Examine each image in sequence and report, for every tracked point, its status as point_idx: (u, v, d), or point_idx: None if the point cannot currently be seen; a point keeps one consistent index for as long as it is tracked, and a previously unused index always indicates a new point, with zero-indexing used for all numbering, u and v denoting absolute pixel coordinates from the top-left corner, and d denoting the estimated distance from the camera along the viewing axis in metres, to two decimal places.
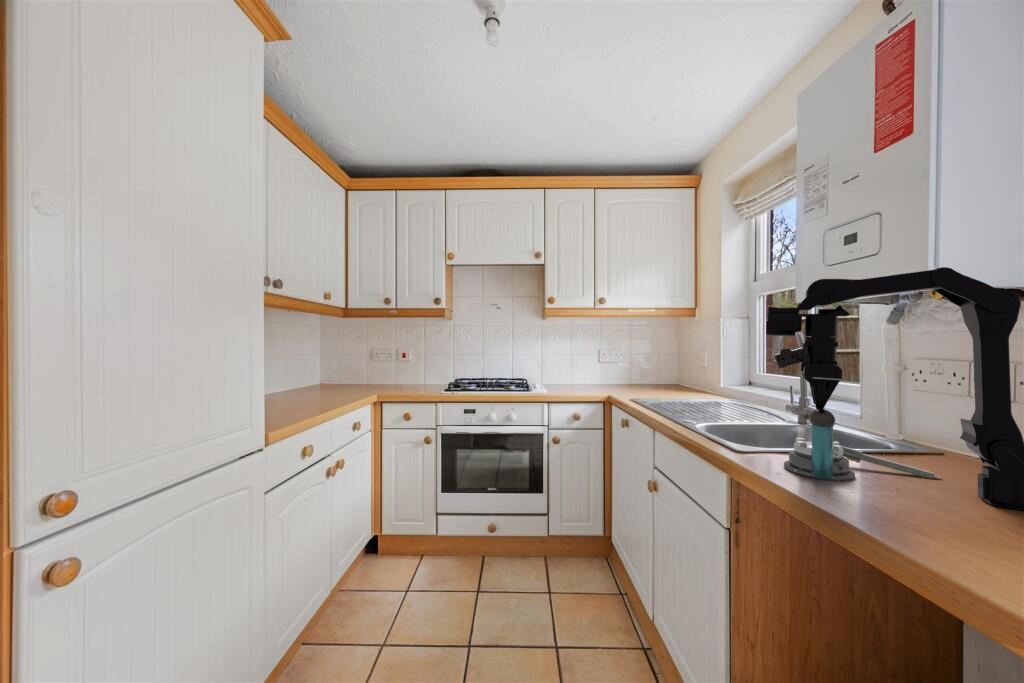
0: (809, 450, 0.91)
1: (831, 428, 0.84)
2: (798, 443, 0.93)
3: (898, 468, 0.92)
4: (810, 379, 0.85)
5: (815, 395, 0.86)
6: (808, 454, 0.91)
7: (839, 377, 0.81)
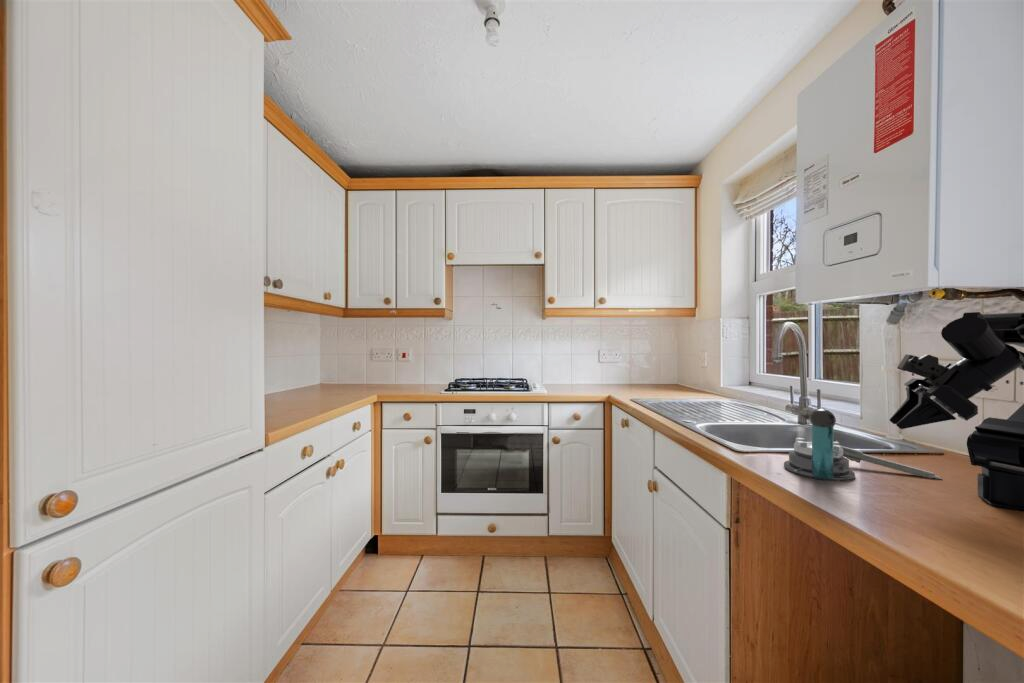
0: (809, 450, 0.90)
1: (832, 428, 0.84)
2: (798, 443, 0.93)
3: (898, 468, 0.92)
4: (928, 399, 0.73)
5: (911, 414, 0.76)
6: (808, 454, 0.91)
7: (966, 418, 0.68)
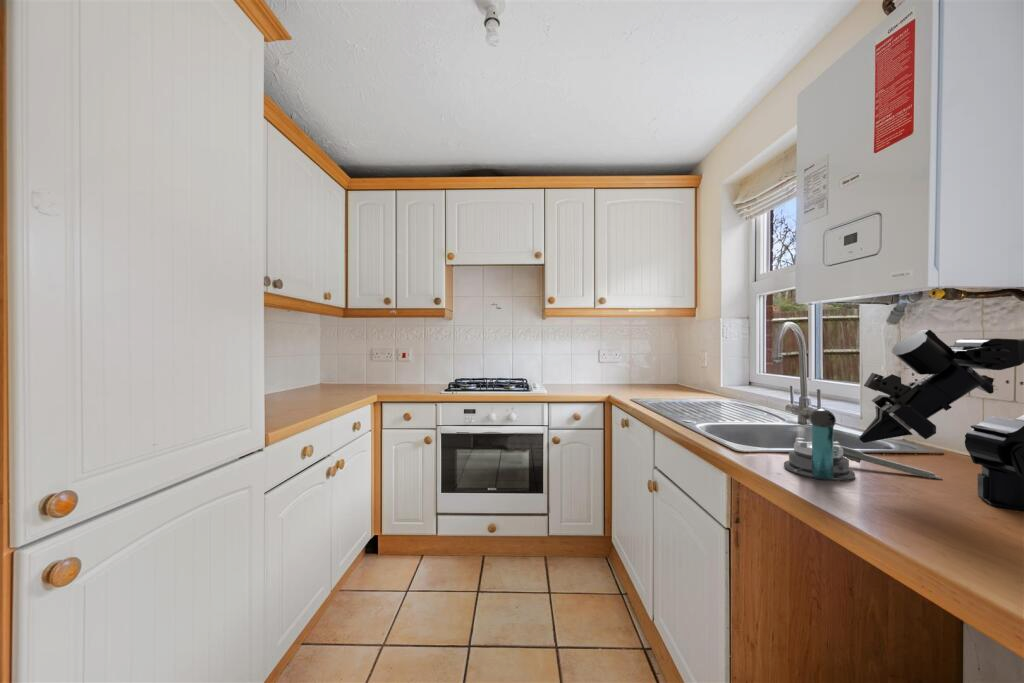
0: (809, 450, 0.90)
1: (832, 428, 0.84)
2: (798, 443, 0.93)
3: (898, 468, 0.92)
4: (887, 415, 0.78)
5: (873, 429, 0.81)
6: (808, 454, 0.91)
7: (925, 437, 0.71)
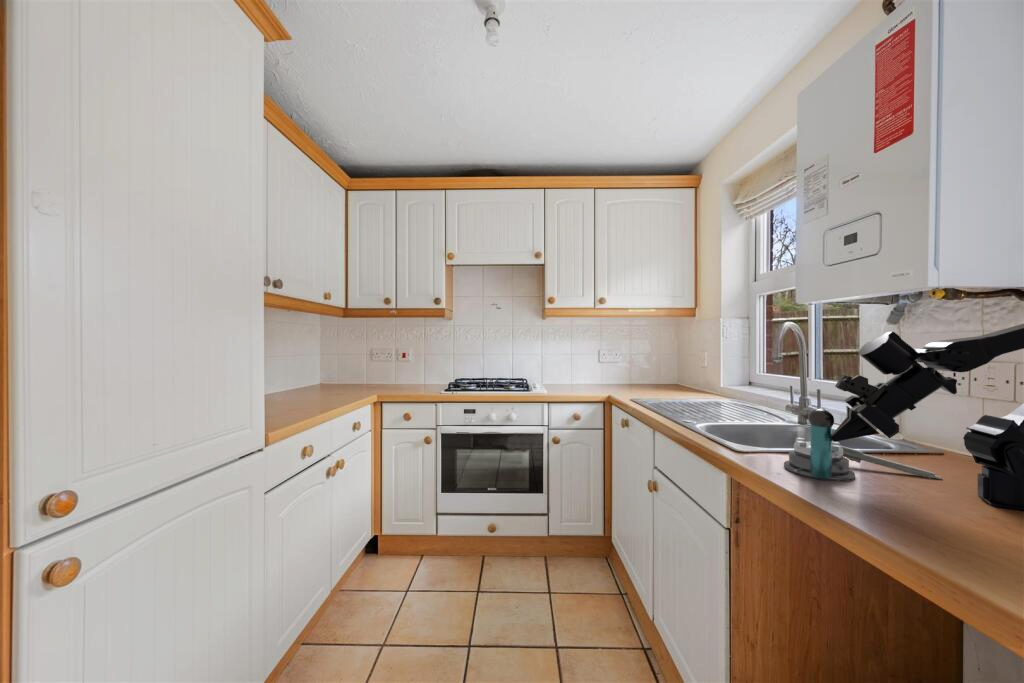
0: (809, 450, 0.91)
1: (830, 428, 0.84)
2: (798, 443, 0.93)
3: (898, 468, 0.92)
4: (856, 415, 0.80)
5: (843, 428, 0.83)
6: (808, 454, 0.91)
7: (889, 436, 0.73)
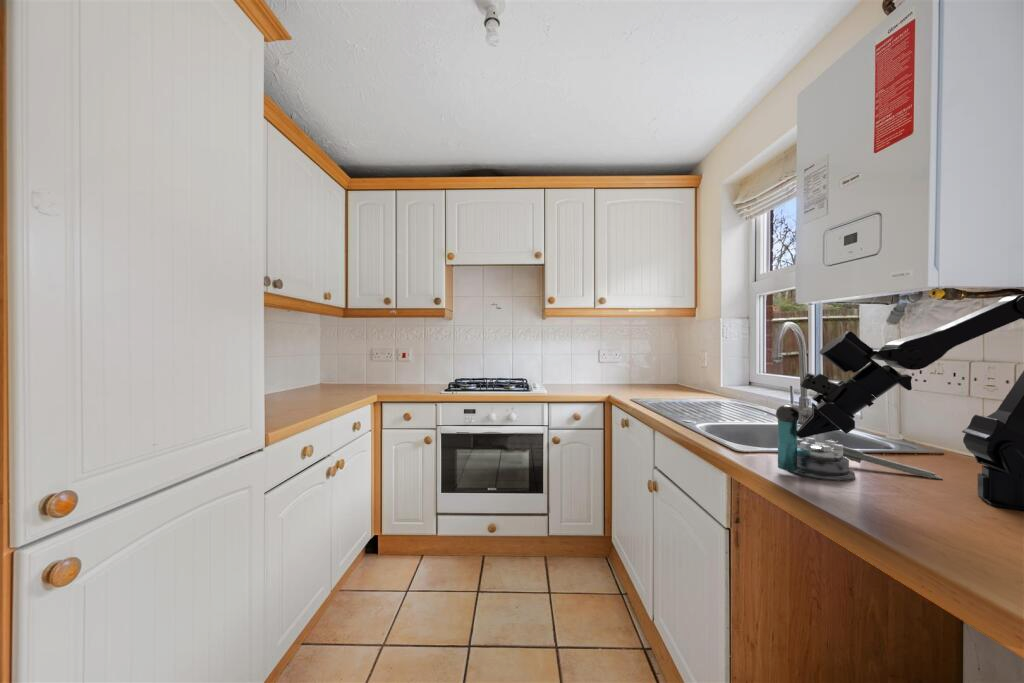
0: (796, 446, 0.94)
1: (790, 423, 0.89)
2: None
3: (899, 468, 0.92)
4: (818, 412, 0.84)
5: (807, 425, 0.86)
6: None
7: (845, 431, 0.77)
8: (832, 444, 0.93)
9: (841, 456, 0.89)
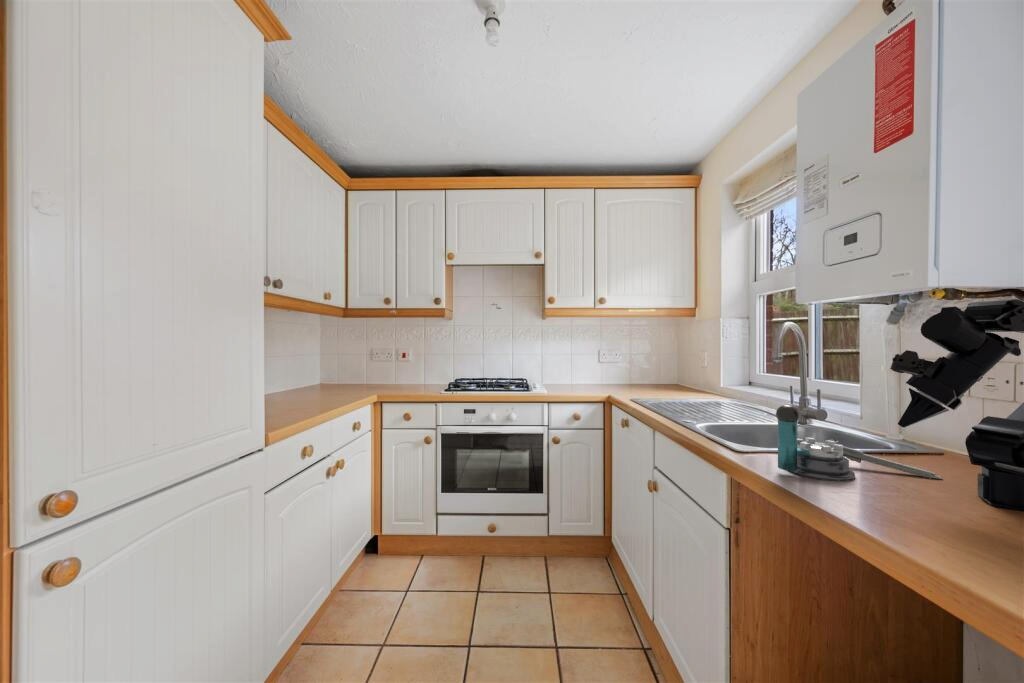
0: (796, 446, 0.94)
1: (790, 423, 0.89)
2: None
3: (899, 468, 0.92)
4: (914, 391, 0.76)
5: (907, 410, 0.78)
6: None
7: (944, 401, 0.69)
8: (832, 444, 0.93)
9: (841, 456, 0.89)
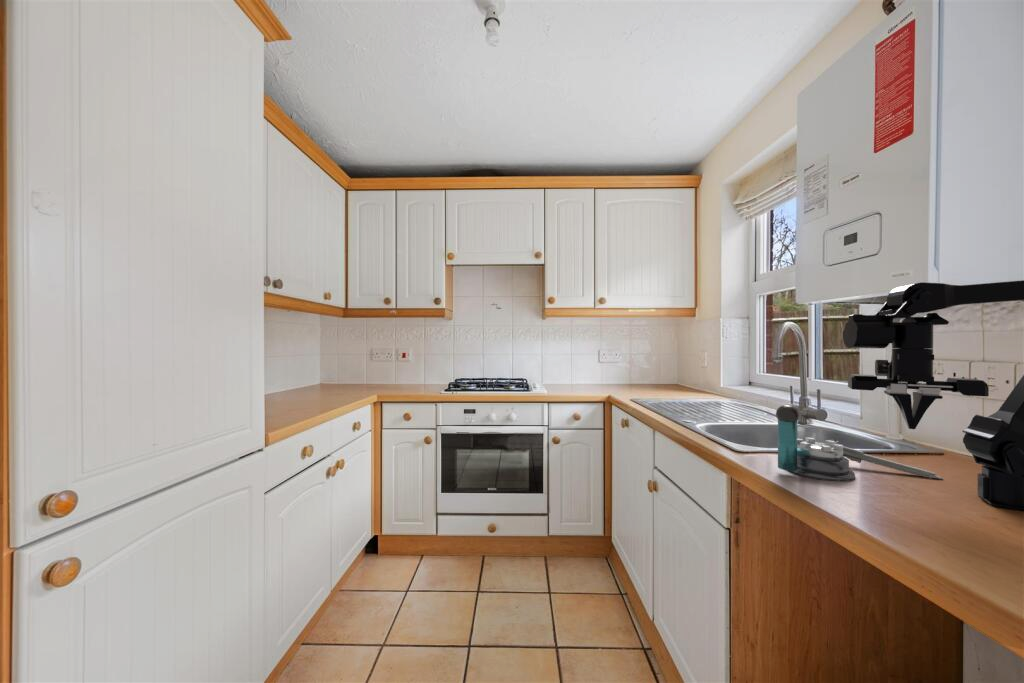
0: (796, 446, 0.94)
1: (790, 423, 0.89)
2: None
3: (899, 468, 0.92)
4: (884, 392, 0.82)
5: (901, 411, 0.80)
6: None
7: (852, 387, 0.81)
8: (832, 444, 0.93)
9: (841, 456, 0.89)
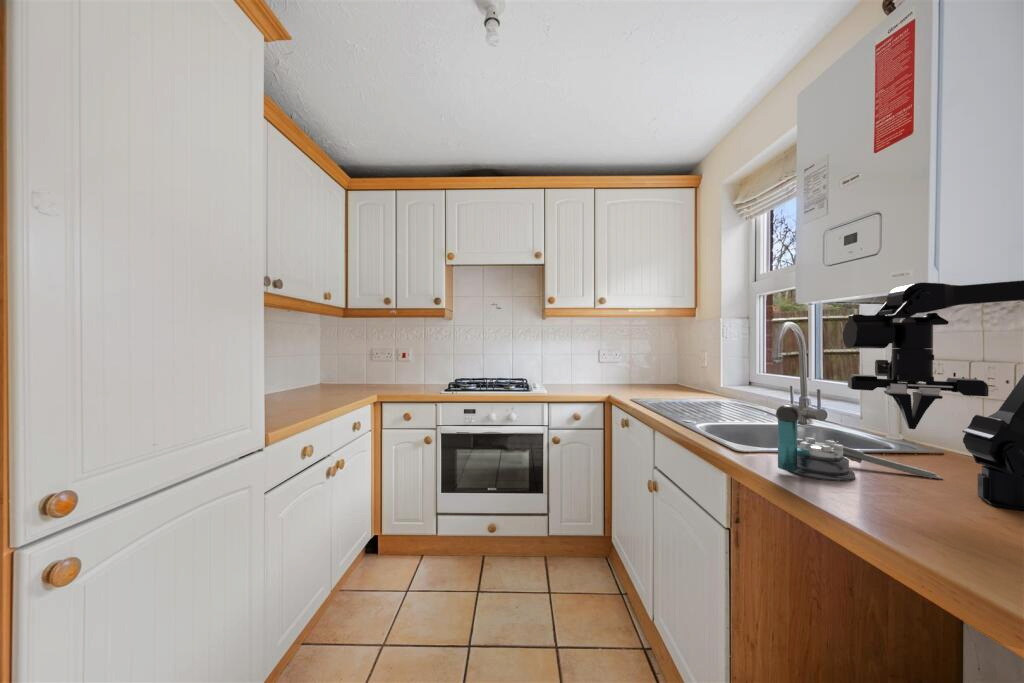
0: (796, 446, 0.94)
1: (790, 423, 0.89)
2: None
3: (899, 468, 0.92)
4: (884, 392, 0.82)
5: (901, 411, 0.80)
6: None
7: (852, 387, 0.81)
8: (832, 444, 0.93)
9: (841, 456, 0.89)
